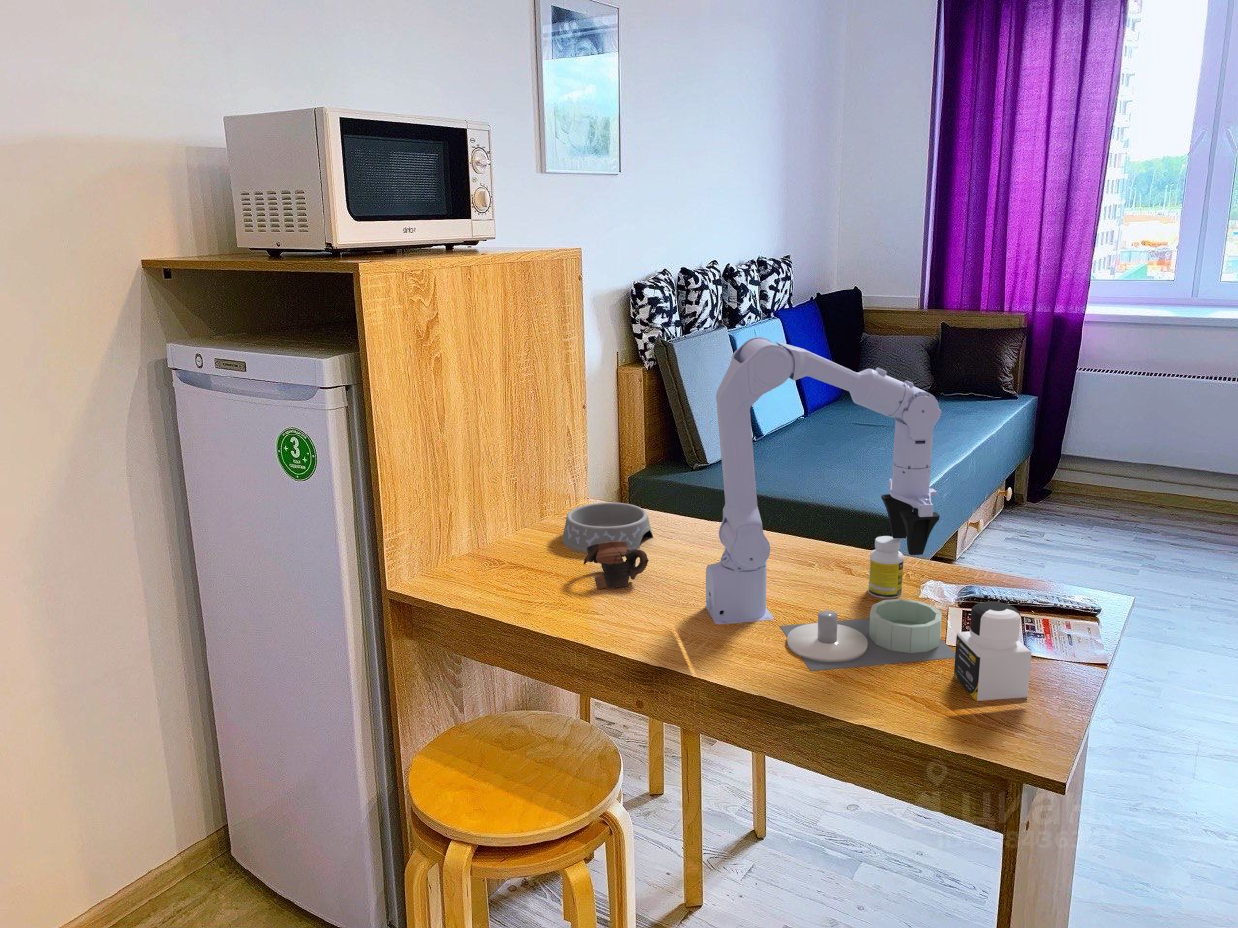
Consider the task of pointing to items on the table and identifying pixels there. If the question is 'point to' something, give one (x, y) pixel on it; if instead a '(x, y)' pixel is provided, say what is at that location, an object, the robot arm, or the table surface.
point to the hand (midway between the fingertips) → (907, 545)
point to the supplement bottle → (886, 568)
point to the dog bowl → (605, 525)
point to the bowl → (905, 625)
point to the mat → (874, 650)
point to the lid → (827, 640)
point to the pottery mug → (616, 563)
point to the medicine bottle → (993, 654)
